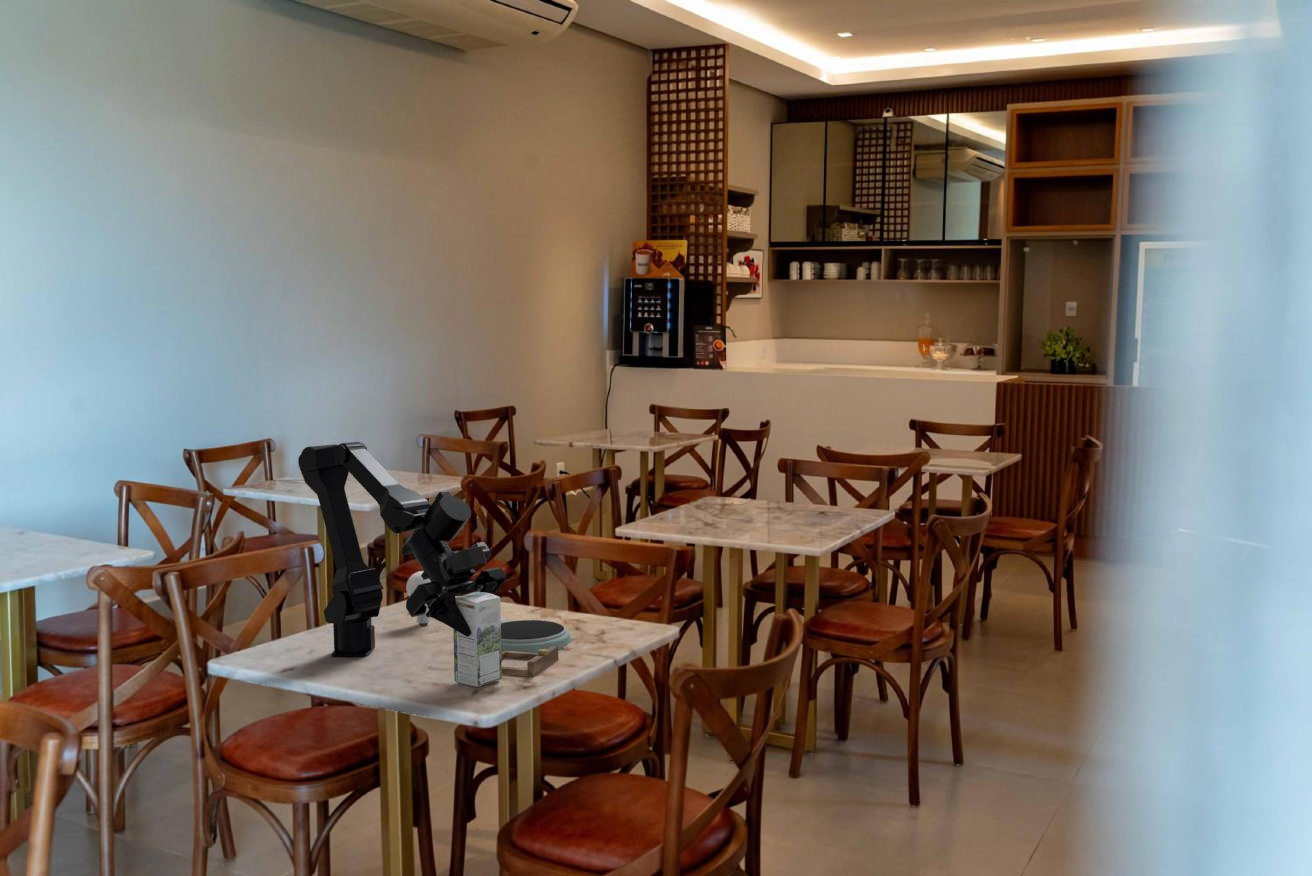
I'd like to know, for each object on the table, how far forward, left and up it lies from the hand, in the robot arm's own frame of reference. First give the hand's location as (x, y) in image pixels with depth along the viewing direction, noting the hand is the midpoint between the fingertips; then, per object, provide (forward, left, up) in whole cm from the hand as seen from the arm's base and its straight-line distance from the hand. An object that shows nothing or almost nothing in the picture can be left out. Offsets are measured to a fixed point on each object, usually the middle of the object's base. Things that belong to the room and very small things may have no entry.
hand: (482, 631), depth 188 cm
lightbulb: (-20, +41, -9) cm, 46 cm away
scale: (0, +29, -10) cm, 31 cm away
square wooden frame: (+4, +11, -9) cm, 15 cm away
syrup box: (-1, +1, -9) cm, 9 cm away
